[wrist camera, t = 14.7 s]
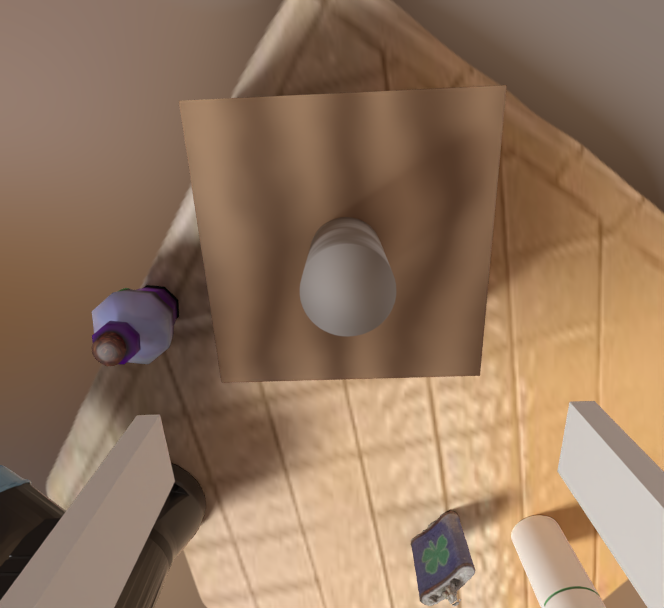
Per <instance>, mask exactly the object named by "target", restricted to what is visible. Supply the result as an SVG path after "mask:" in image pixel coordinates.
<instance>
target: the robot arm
mask: <svg viewBox="0 0 664 608" xmlns="http://www.w3.org/2000/svg"><path fill="white" fill-rule="evenodd" d="M558 473H559V474H560V476H561V477H562V479H563V480H564V482H565V483H566V485H567V486H568V488H569V489H570V491H571V492H572V494H573V495H574V497H575V498H576V500H577V501H578V503H579V504H580V506H581V507H582V509H583V511H584V512H585V514H586V515H587V517H588V518H589V520H590V521H591V523H592V524H593V526H594V527H595V529H596V530H597V532H598V533H599V535H600V536H601V538H602V539H603V541H604V542H605V544H606V545H607V547H608V548H609V550H610V551H611V553H612V554H613V556H614V557H615V559H616V560H617V562H618V563H619V565H620V566H621V568H622V569H623V571H624V572H625V574H626V576H627V577H628V579H629V580H630V581H631V583H632V585H633V586H634V588H635V589H636V591H637V592H638V594H639V595H640V597H641V598H642V600H643V601H644V603H645V604H646V606H647V607H648V608H664V472H663V471H662V470H661V469H660V467H659V466H658V465H657V464H656V463H655V462H654V461H653V460H652V459H651V458H650V457H649V456H648V455H647V454H646V453H645V452H644V451H643V450H642V449H641V448H640V447H639V446H638V445H637V444H636V443H635V442H634V441H633V440H632V439H631V438H630V437H629V436H628V435H627V434H626V433H625V432H624V431H623V430H622V429H621V428H620V427H619V426H618V425H617V424H616V423H615V422H614V421H613V420H612V419H611V418H610V417H609V416H608V414H607V413H606V412H605V411H604V410H603V409H602V408H601V407H600V406H599V405H598V404H597V403H596V402H595V401H579V402H570V403H569V408H568V414H567V420H566V426H565V431H564V437H563V443H562V449H561V454H560V460H559V466H558ZM205 509H206V501H205V496H204V493H203V491H202V489H201V487H200V485H199V484H198V483H197V481H196V480H195V479H194V478H193V477H192V476H191V475H190V474H189V473H187V472H186V471H185V470H183V469H182V468H180V467H178V466H176V465H174V464H172V463H171V461H170V457H169V452H168V448H167V443H166V439H165V434H164V430H163V425H162V421H161V417H160V415H137V416H136V417H135V419H134V420H133V421H132V423H131V424H130V425H129V427H128V428H127V429H126V431H125V432H124V433H123V435H122V436H121V438H120V439H119V440H118V442H117V443H116V444H115V446H114V447H113V448H112V450H111V451H110V452H109V454H108V455H107V457H106V458H105V459H104V461H103V462H102V463H101V465H100V466H99V467H98V469H97V470H96V471H95V473H94V474H93V476H92V477H91V478H90V480H89V481H88V482H87V484H86V485H85V486H84V488H83V489H82V490H81V492H80V493H79V495H78V496H77V497H76V499H75V500H74V501H73V503H72V504H71V505H70V507H69V508H68V509H67V511H65V510H64V509H63V508H61V507H60V506H59V505H57V504H56V503H55V502H53V501H52V500H51V499H49V498H48V497H46V496H45V495H44V494H42V493H41V492H40V491H38V490H37V489H36V488H34V487H33V486H32V485H31V481H30V480H27V479H23V478H21V477H20V476H18V475H17V474H15V473H14V472H12V471H10V470H9V469H8V468H6V467H4V466H2V465H0V608H155V606H156V603H157V600H158V598H159V595H160V593H161V590H162V587H163V585H164V582H165V580H166V577H167V574H168V572H169V569H170V567H171V565H172V562H173V561H174V560H175V558H176V557H177V556H178V555H179V553H180V552H181V551H182V550H183V549H184V547H185V546H186V545H187V544H188V542H189V541H190V540H191V539H192V538H193V537H194V535H195V534H196V532H197V531H198V529H199V527H200V524H201V522H202V519H203V516H204V513H205Z"/></svg>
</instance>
